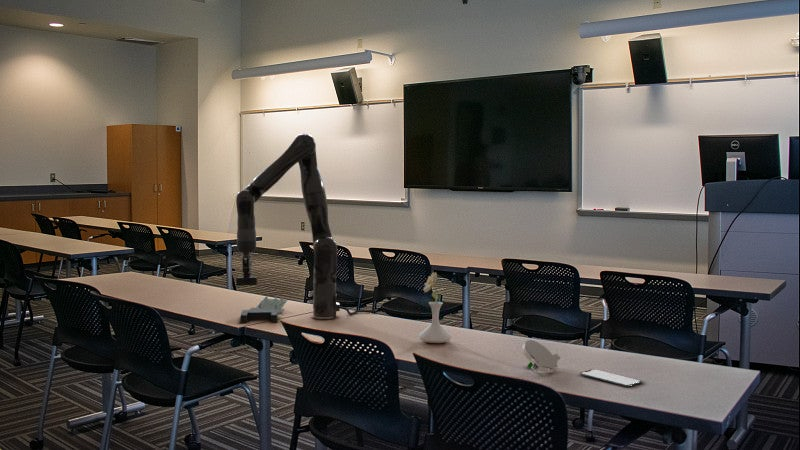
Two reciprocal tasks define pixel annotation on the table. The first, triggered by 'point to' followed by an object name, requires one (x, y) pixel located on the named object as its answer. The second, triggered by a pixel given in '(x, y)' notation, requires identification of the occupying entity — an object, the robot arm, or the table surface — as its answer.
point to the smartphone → (610, 377)
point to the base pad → (258, 315)
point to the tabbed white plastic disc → (539, 357)
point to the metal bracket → (271, 304)
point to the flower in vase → (434, 318)
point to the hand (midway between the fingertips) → (247, 281)
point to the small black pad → (241, 282)
